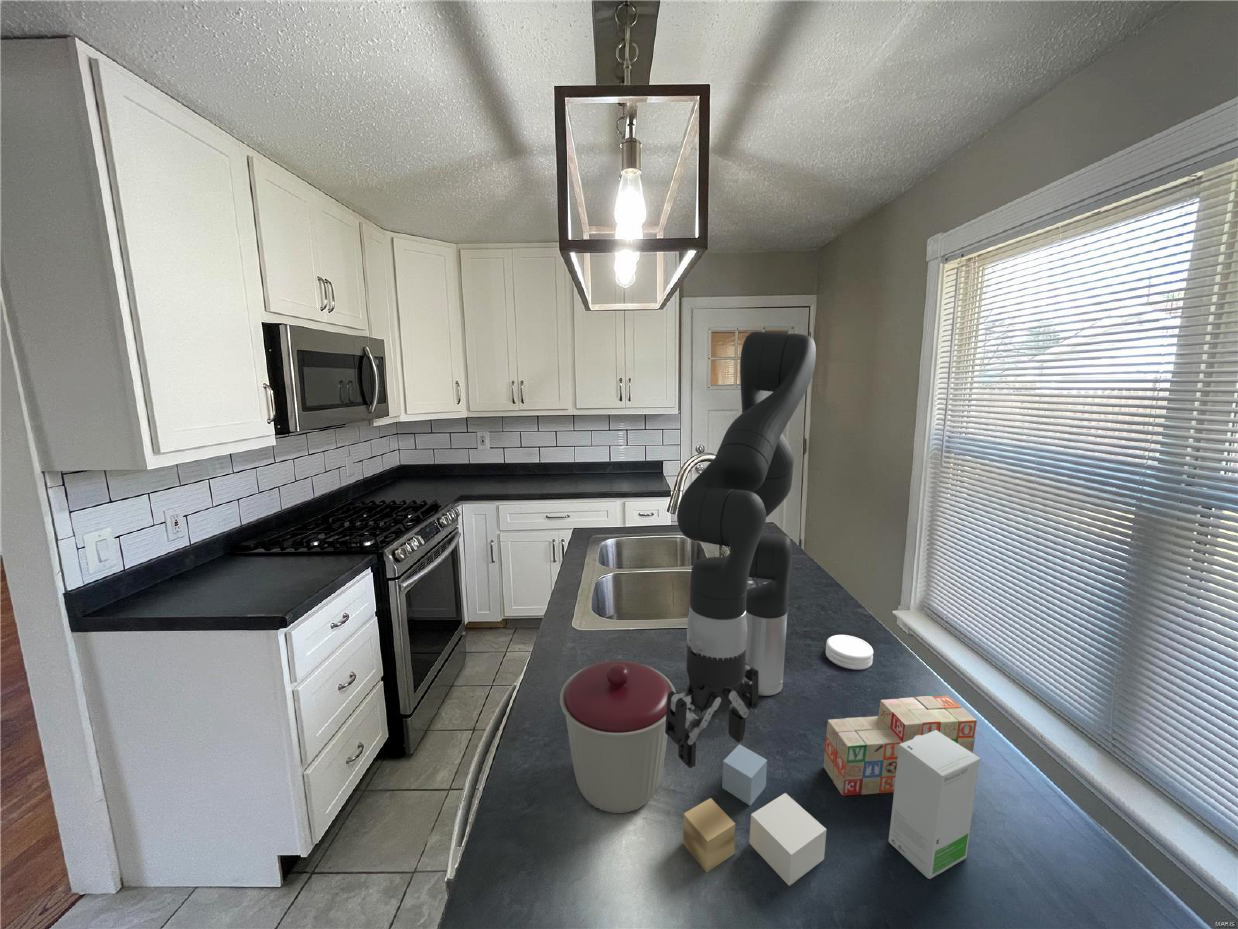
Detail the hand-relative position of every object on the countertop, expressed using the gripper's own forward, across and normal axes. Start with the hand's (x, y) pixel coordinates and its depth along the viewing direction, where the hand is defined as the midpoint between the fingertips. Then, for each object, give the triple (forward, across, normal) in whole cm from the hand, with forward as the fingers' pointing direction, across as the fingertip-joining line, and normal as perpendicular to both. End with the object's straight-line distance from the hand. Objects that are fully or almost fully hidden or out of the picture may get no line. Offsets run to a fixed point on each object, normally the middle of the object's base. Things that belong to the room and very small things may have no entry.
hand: (712, 750), depth 67 cm
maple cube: (+16, 0, 0) cm, 16 cm away
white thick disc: (+16, -60, -19) cm, 65 cm away
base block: (+16, -9, +6) cm, 19 cm away
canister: (+16, +5, -16) cm, 23 cm away
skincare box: (+16, -26, +16) cm, 34 cm away
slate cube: (+16, -12, -5) cm, 20 cm away
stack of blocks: (+16, -35, +6) cm, 39 cm away
